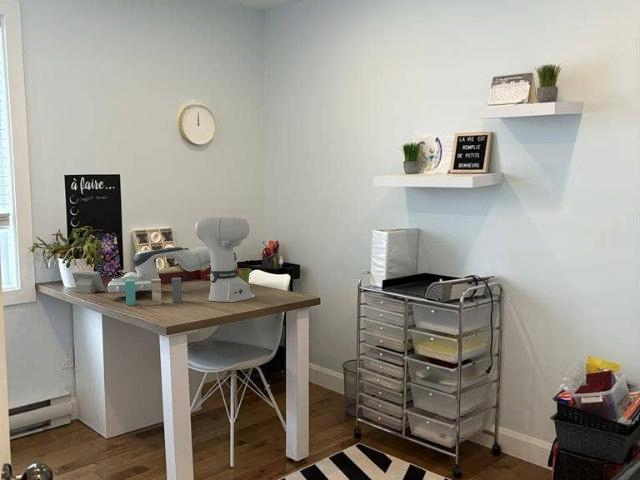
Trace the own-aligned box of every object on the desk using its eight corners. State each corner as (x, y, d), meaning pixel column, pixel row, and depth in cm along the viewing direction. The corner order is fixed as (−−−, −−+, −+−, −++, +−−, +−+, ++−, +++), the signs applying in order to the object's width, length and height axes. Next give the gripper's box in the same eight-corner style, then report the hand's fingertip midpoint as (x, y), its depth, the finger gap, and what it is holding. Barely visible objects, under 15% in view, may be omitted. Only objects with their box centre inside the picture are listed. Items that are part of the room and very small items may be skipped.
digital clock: (106, 291, 314) (105, 270, 313) (92, 294, 306) (91, 273, 305) (83, 288, 321) (83, 268, 320) (69, 291, 314) (68, 271, 312)
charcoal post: (172, 301, 289) (171, 278, 288) (181, 300, 290) (180, 277, 289) (172, 302, 285) (172, 279, 284) (181, 302, 286) (181, 278, 285)
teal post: (126, 303, 284) (125, 280, 283) (135, 303, 285) (134, 279, 284) (126, 305, 280) (125, 281, 279) (135, 304, 281) (134, 281, 280)
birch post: (152, 302, 285) (151, 279, 284) (161, 302, 286) (160, 279, 285) (152, 304, 282) (151, 280, 280) (161, 304, 283) (160, 280, 281)
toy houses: (202, 275, 364) (202, 258, 363) (220, 280, 348) (220, 262, 347) (128, 284, 335) (128, 266, 334) (144, 289, 319) (144, 270, 318)
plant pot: (253, 286, 326) (253, 270, 325) (236, 288, 322) (235, 271, 321) (248, 283, 335) (248, 268, 334) (231, 285, 331) (231, 269, 330)
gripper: (152, 289, 304) (153, 294, 291) (109, 291, 299) (107, 297, 286) (152, 276, 304) (152, 281, 290) (108, 278, 298) (106, 283, 285)
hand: (129, 289), depth 288 cm, fingers open, 8 cm apart
